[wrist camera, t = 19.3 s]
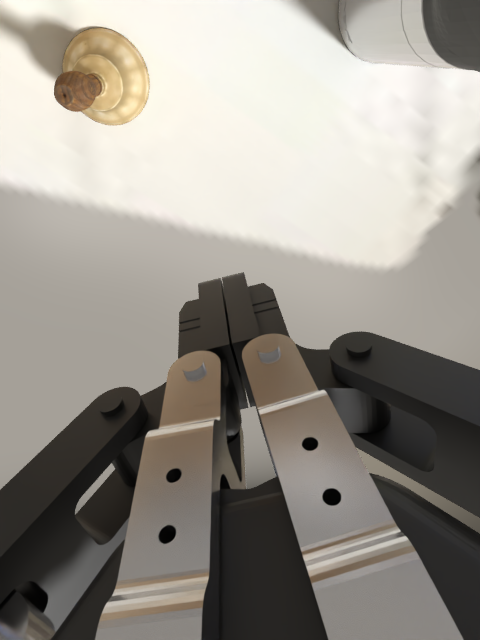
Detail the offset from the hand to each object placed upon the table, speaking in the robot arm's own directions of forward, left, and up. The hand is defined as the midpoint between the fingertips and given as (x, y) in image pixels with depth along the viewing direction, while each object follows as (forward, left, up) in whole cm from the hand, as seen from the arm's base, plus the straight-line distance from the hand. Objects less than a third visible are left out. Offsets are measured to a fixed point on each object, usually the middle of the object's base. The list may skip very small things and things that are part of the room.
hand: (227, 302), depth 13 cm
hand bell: (+8, -6, -37) cm, 38 cm away
